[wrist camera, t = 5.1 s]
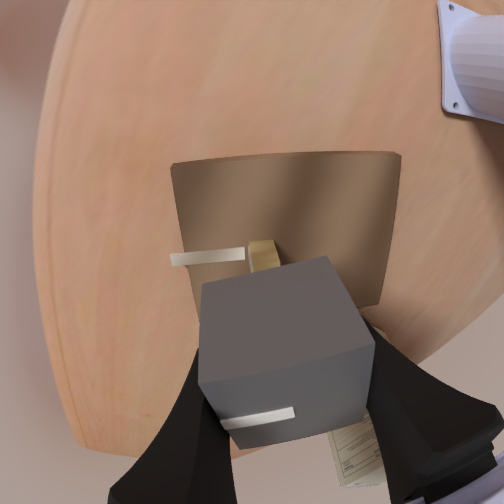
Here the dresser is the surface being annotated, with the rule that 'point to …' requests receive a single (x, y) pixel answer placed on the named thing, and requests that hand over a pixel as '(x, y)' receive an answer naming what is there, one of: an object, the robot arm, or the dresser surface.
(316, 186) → the board
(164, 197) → the dresser surface
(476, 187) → the dresser surface
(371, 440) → the skincare box
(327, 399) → the mini file drawer
